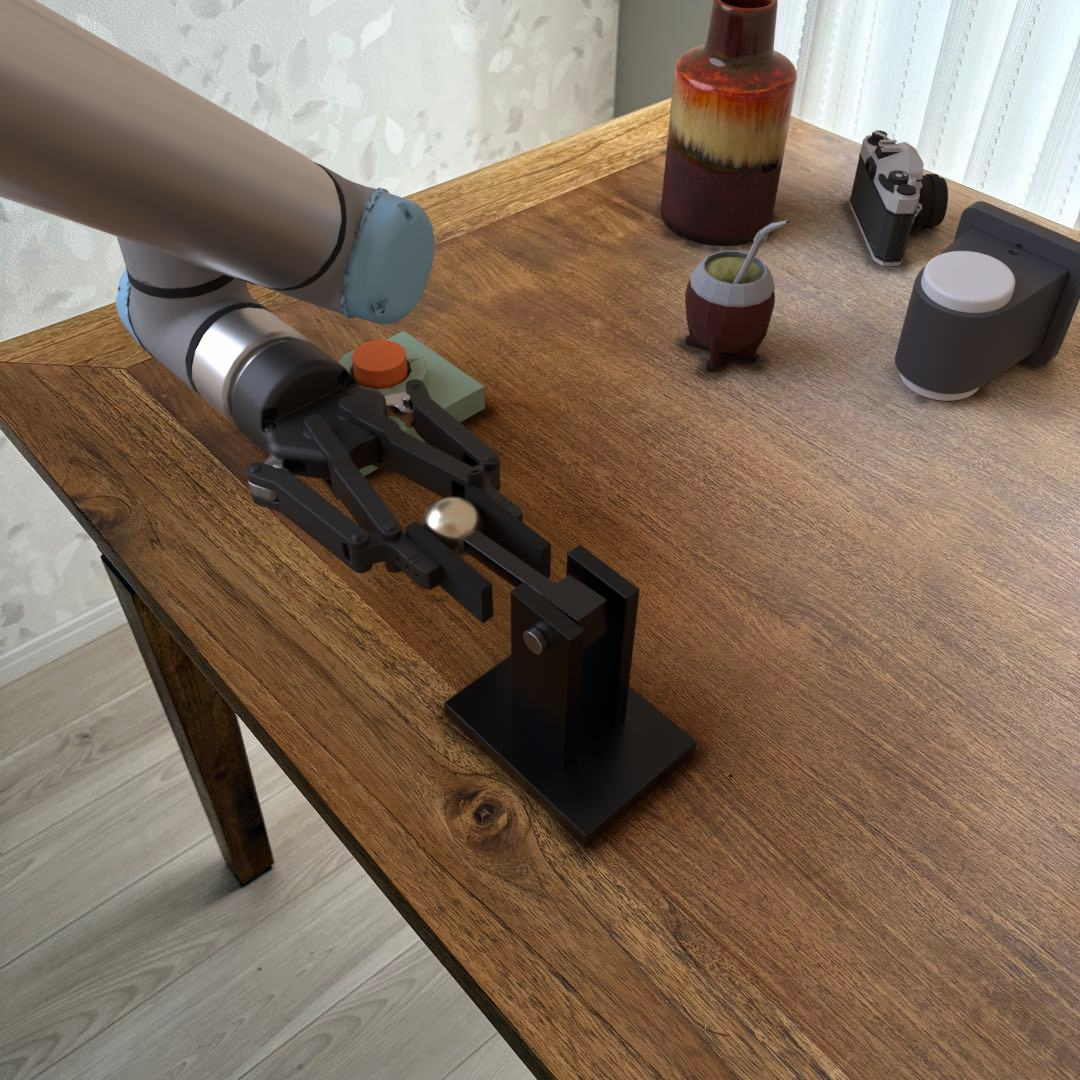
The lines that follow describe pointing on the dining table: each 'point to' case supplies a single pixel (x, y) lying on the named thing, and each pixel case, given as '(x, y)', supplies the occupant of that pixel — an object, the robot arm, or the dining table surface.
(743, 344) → the mate gourd
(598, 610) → the switch lever
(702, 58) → the vase
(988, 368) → the light fixture
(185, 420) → the dining table surface
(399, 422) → the button box
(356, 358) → the button
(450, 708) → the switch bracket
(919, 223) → the camera
